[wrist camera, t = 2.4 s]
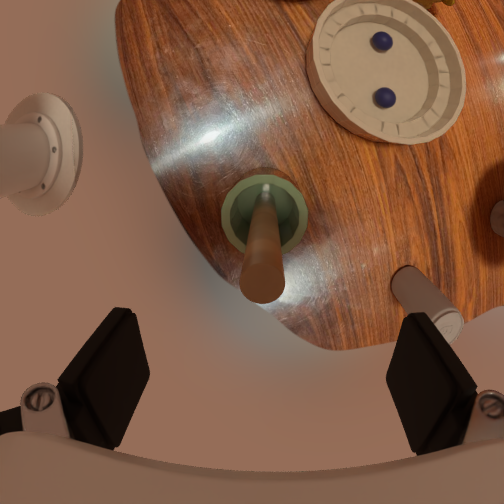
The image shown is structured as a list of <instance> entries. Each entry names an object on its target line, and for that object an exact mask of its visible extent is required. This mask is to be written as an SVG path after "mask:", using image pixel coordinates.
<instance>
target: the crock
mask: <svg viewBox="0 0 504 504" xmlns="http://www.w3.org/2000/svg"><path fill="white" fill-rule="evenodd" d="M263 192H267V193H270V194H271V195H273V197H274V199H275V204H276V212H277V219H278V227H279V235H280V243H281V252H282V255H283V254H286V253H288V252H289V251H290V250H292V249H293V248H294V247H295V246H296V245H297V244H298V243H299V242H300V241H301V239H302V237H303V235H304V233H305V231H306V229H307V224H308V208H307V206H306V203H305V200H304V198H303V195H302V194H301V192H300V190H299V189H298V187H297V186H296V184H295V183H294V182H293V181H292V180H291V179H290V177H289V176H287V175H286V174H285V173H283V172H282V171H280V170H277V169H275V168H270V167H260V168H256V169H252V170H250V171H248V172H246V173H245V174H244V175H243V176H242V177H241V178H240V179H239V180H238V181H237V182H236V183H235V184H234V186H233V187H232V188H231V190H230V191H229V192H228V194H227V196H226V198H225V201H224V203H223V206H222V208H221V222H222V228H223V230H224V232H225V234H226V236H227V239H228V240H229V242H230V243H232V244H233V245H234V246H235V247H236V248H237V249H238V250H239V251H240V252H242V253H244V254H245V250H246V245H247V240H248V234H249V229H250V224H251V219H252V214H253V209H254V204H255V199H256V197H257V196H258V195H259V194H260V193H263Z"/></svg>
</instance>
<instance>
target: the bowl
mask: <svg viewBox="0 0 504 504" xmlns="http://www.w3.org/2000/svg"><path fill="white" fill-rule="evenodd" d="M380 31H383V32H386V33H388V34H389V35H390V36H391V37H392V39H393V46H392V48H391V49H389V50H387V51H382V50H379V49H377V48H376V47H375V46H374V44H373V42H372V37H373V35H374V34H375V33H376V32H380ZM306 70H307V74H308V77H309V80H310V84H311V87H312V90H313V92H314V93H315V95H316V97H317V98H318V100H319V102H320V104H321V105H322V107H323V108H324V109H325V110H326V111H327V112H328V113H329V114H330V115H331V117H332V118H333V119H334V120H335V121H336V122H337V123H339V124H340V125H342V126H343V127H345V128H346V129H347V130H349V131H350V132H352V133H353V134H355V135H358V136H360V137H363V138H366V139H368V140H371V141H375V142H384V143H393V144H406V145H412V144H418V143H425V142H429V141H431V140H433V139H435V138H437V137H439V136H441V135H443V134H444V133H445V132H446V131H447V130H448V129H449V128H450V127H451V126H452V125H453V124H454V123H455V122H456V120H457V118H458V116H459V114H460V112H461V110H462V108H463V105H464V100H465V94H466V78H465V69H464V65H463V62H462V59H461V56H460V52H459V50H458V48H457V46H456V45H455V43H454V41H453V39H452V37H451V36H450V34H449V33H448V31H447V30H446V29H445V28H444V27H443V25H442V24H441V23H440V22H439V21H438V20H437V19H436V18H435V17H434V16H433V15H432V14H431V13H429V12H428V11H427V10H426V9H424V8H423V7H422V6H421V5H419V4H418V3H416V2H414V1H412V0H335V1H333V2H332V3H330V4H329V5H328V6H327V7H326V9H325V10H324V12H323V13H322V14H321V16H320V17H319V18H318V20H317V23H316V25H315V27H314V30H313V32H312V34H311V37H310V40H309V44H308V47H307V51H306ZM382 87H387V88H390V89H391V90H392V91H393V92H394V93H395V95H396V102H395V104H394V105H393V106H392V107H390V108H383V107H381V106H379V105H378V104H377V102H376V100H375V93H376V91H377V90H378V89H379V88H382Z"/></svg>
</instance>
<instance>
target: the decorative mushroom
mask: <svg viewBox="0 0 504 504" xmlns="http://www.w3.org/2000/svg"><path fill="white" fill-rule="evenodd" d="M490 223H491V227H492V229H493V231H494V232H495V233H497V234H498V235H500V236H502V237H503V238H504V200H502V201H499V202H498V203H497V204H495V206H494V208H493V209H492V212H491V216H490Z"/></svg>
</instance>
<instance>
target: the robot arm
mask: <svg viewBox="0 0 504 504" xmlns="http://www.w3.org/2000/svg"><path fill="white" fill-rule="evenodd" d="M61 162H62V142H61V137H60V133H59V130H58V128H57V126H56V124H55V123H54V121H53V120H52V119H51V118H50V117H49V116H47V115H46V114H43V113H38V112H33V113H28V114H25V115H23V116H22V117H20V118H19V119H18V120H17V121H16V122H15V123H14V124H6V125H0V198H3V197H6V196H9V195H12V194H15V193H17V194H19V195H20V196H22V197H24V198H31V199H33V198H36V197H39V196H41V195H44V194H45V193H46V192H48V191H49V189H50V188H51V187H52V186H53V184H54V183H55V181H56V179H57V176H58V174H59V171H60V167H61ZM149 376H150V370H149V366H148V362H147V359H146V354H145V351H144V347H143V342H142V338H141V334H140V330H139V325H138V321H137V317H136V314H135V313H132V311H131V309H129V308H119V307H115V308H113V309H112V311H111V312H110V313H109V314H108V315H107V317H106V318H105V319H104V320H103V322H102V323H101V324H100V326H99V327H98V328H97V329H96V330H95V332H94V333H93V334H92V335H91V337H90V338H89V339H88V340H87V342H86V343H85V344H84V345H83V347H82V348H81V349H80V351H79V352H78V353H77V355H76V356H75V357H74V358H73V360H72V361H71V362H70V364H69V365H68V366H67V368H66V369H65V370H64V372H63V373H62V374H61V376H60V377H59V379H58V382H59V383H58V385H57V386H56V387H55V386H54V385H52V384H50V383H37V384H35V385H32V386H31V387H29V388H28V389H26V391H25V392H24V393H23V395H22V397H21V402H20V405H21V406H19V407H15V408H12V409H9V410H6V411H2V412H0V504H504V395H503V394H501V393H499V392H497V391H494V390H484V391H482V392H480V393H479V394H478V393H477V392H476V388H477V385H476V383H475V382H474V380H473V379H472V377H471V376H470V374H469V373H468V371H467V370H466V368H465V367H464V365H463V364H462V362H461V361H460V359H459V358H458V357H457V355H456V354H455V352H454V351H453V349H452V348H451V347H450V345H449V344H448V342H447V341H446V340H445V338H444V337H443V335H442V334H441V333H440V331H439V330H438V329H437V327H436V326H435V325H434V323H433V322H432V321H431V319H430V318H429V317H428V315H427V314H426V313H425V312H416V313H409V314H408V316H407V317H405V318H404V319H403V322H402V326H401V329H400V333H399V336H398V340H397V343H396V347H395V349H394V353H393V356H392V359H391V362H390V365H389V368H388V371H387V374H386V382H387V385H388V388H389V390H390V393H391V395H392V398H393V401H394V403H395V406H396V408H397V411H398V414H399V416H400V419H401V422H402V425H403V427H404V430H405V433H406V436H407V439H408V442H409V445H410V447H411V450H412V452H414V453H415V452H416V454H417V456H415V457H410V458H405V459H401V460H396V461H391V462H386V463H379V464H373V465H366V466H360V467H351V468H343V469H332V470H319V471H301V472H300V471H299V472H254V471H235V470H222V469H211V468H202V467H194V466H187V465H180V464H174V463H168V462H162V461H157V460H152V459H147V458H142V457H137V456H134V455H129V454H125V453H121V452H117V451H113V450H114V448H115V447H118V446H119V445H120V443H121V441H122V439H123V436H124V434H125V432H126V429H127V427H128V425H129V422H130V420H131V418H132V416H133V413H134V411H135V409H136V406H137V404H138V402H139V400H140V397H141V395H142V393H143V391H144V389H145V386H146V384H147V382H148V380H149Z"/></svg>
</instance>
